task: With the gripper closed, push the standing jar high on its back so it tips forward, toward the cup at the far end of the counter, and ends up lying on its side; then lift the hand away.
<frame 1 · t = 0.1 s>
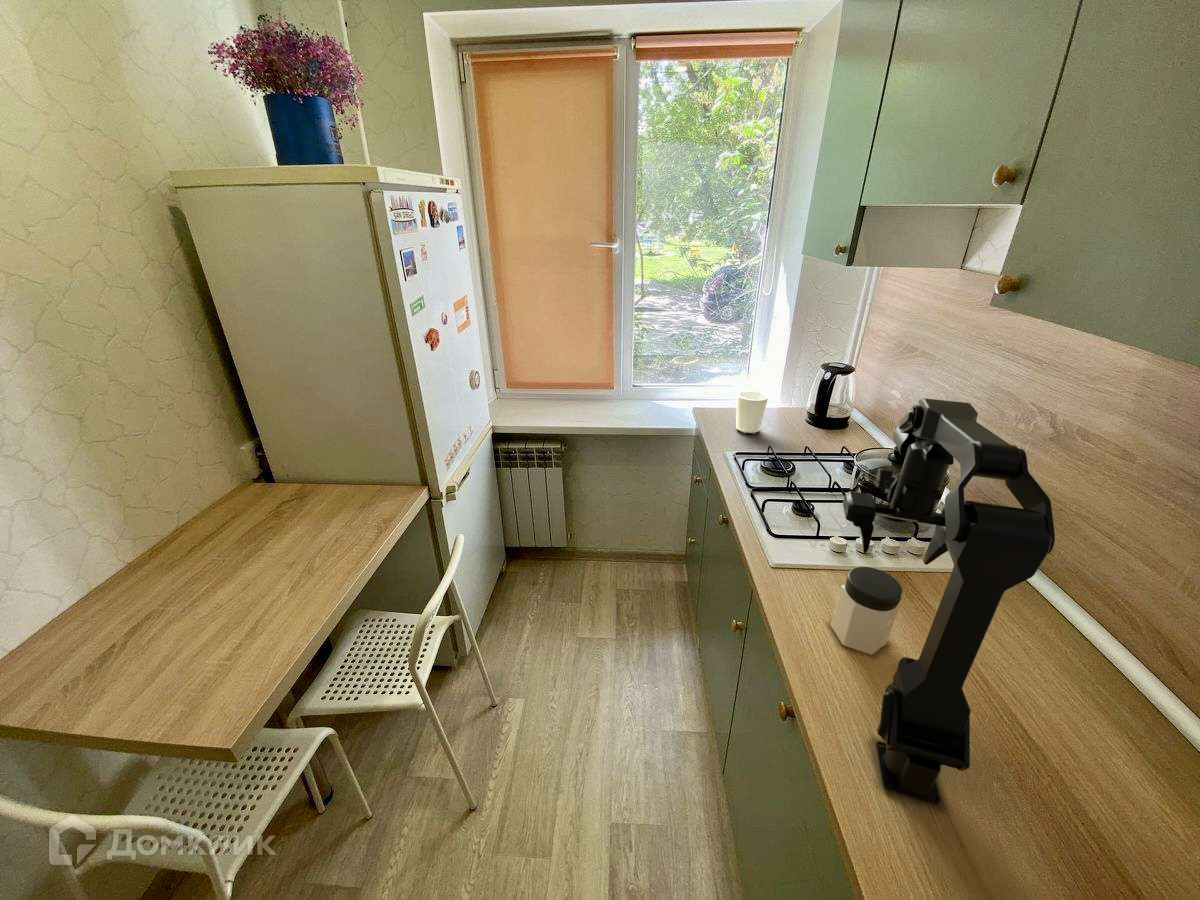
hand: (894, 557, 83), 15 cm above the countertop, tool pointing down, fingers open, 9 cm apart
jar: (857, 635, 87), on the countertop
cup: (747, 431, 167), on the countertop
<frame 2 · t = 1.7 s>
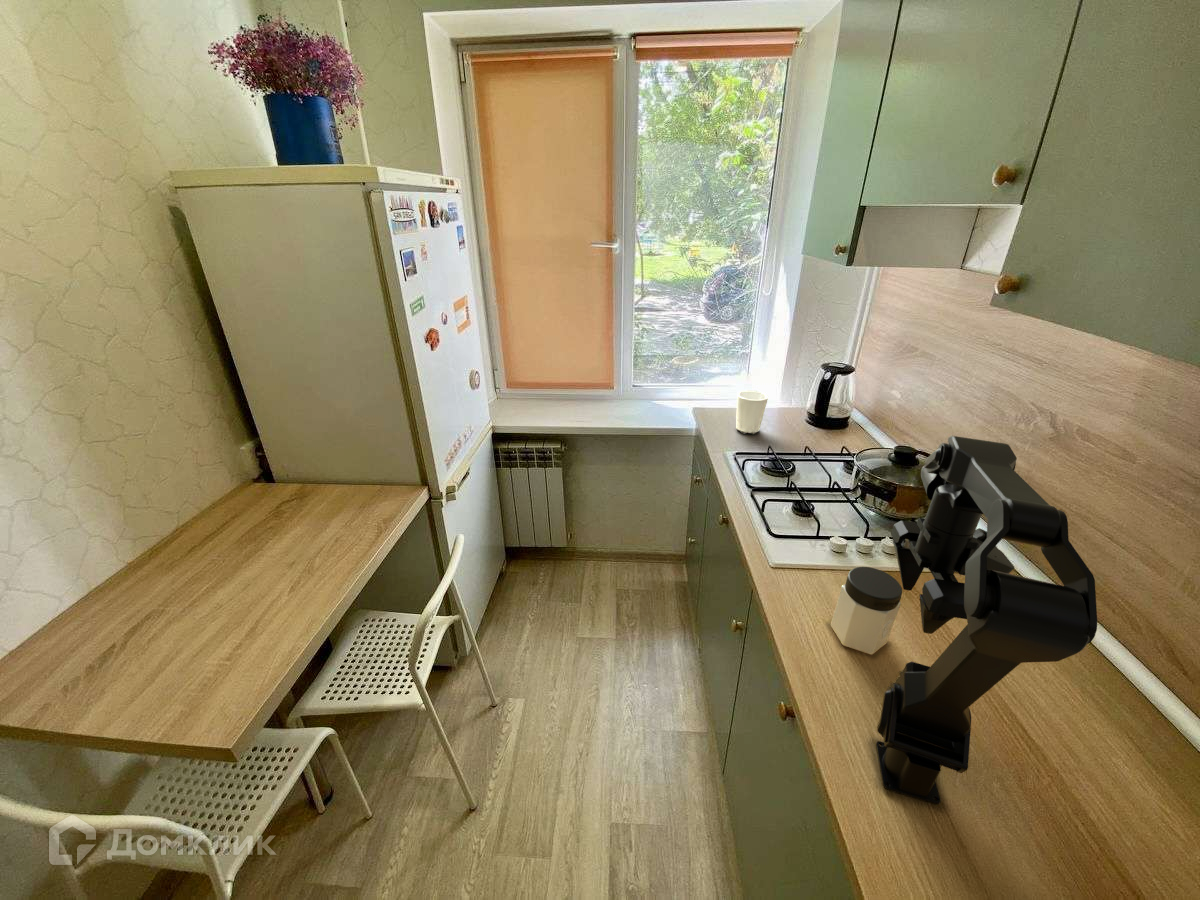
hand: (916, 609, 74), 13 cm above the countertop, tool pointing down, fingers open, 9 cm apart
nothing on the countertop moved.
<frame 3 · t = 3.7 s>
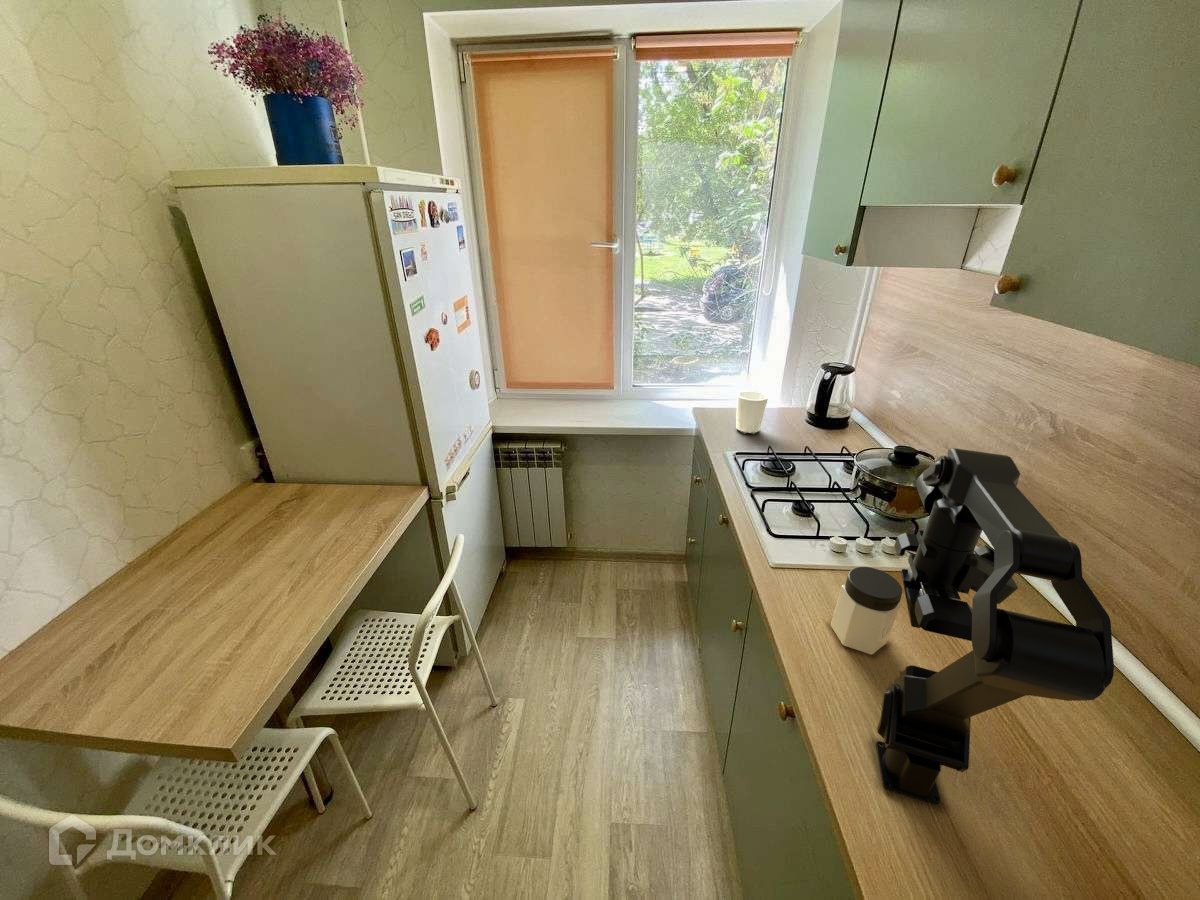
hand: (914, 625, 72), 13 cm above the countertop, tool pointing down, fingers closed
nothing on the countertop moved.
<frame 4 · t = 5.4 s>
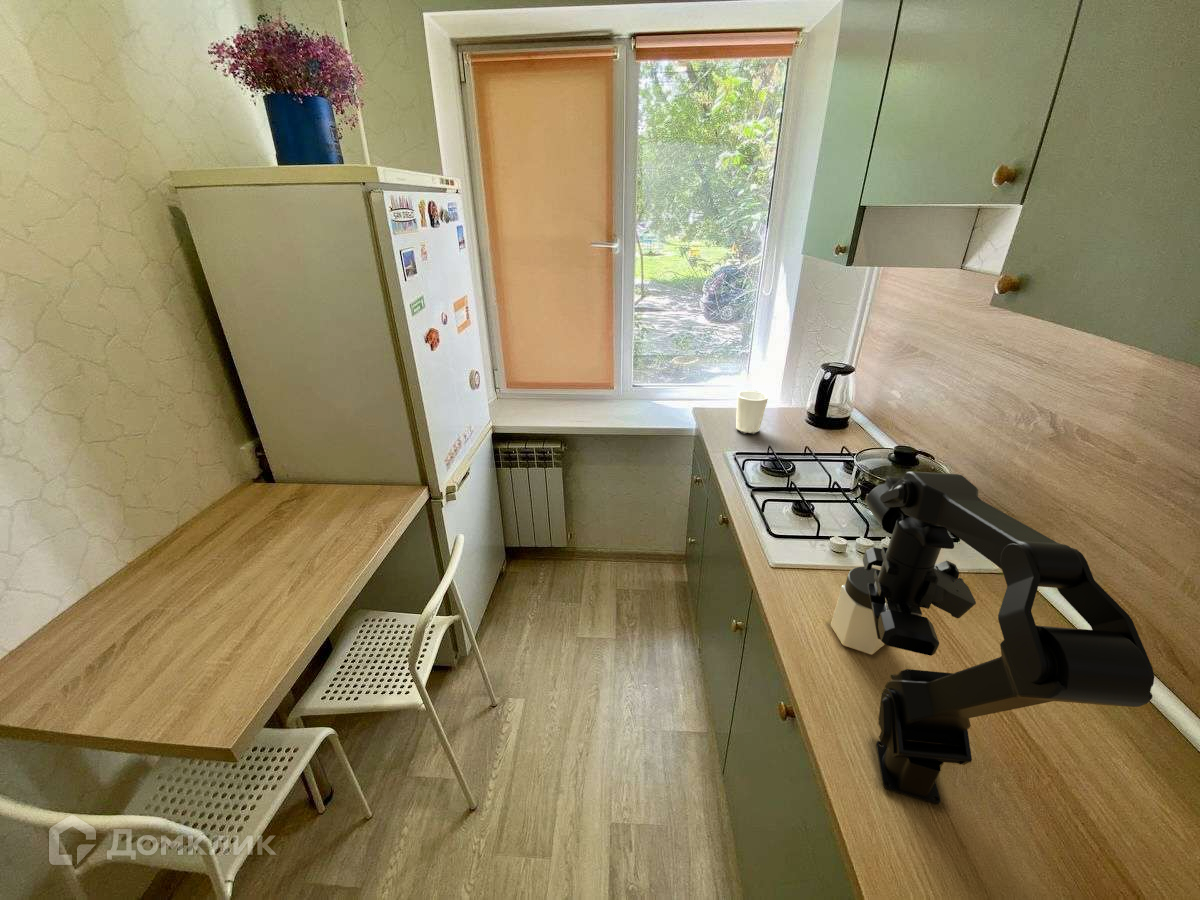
hand: (881, 638, 74), 9 cm above the countertop, tool pointing down, fingers closed
nothing on the countertop moved.
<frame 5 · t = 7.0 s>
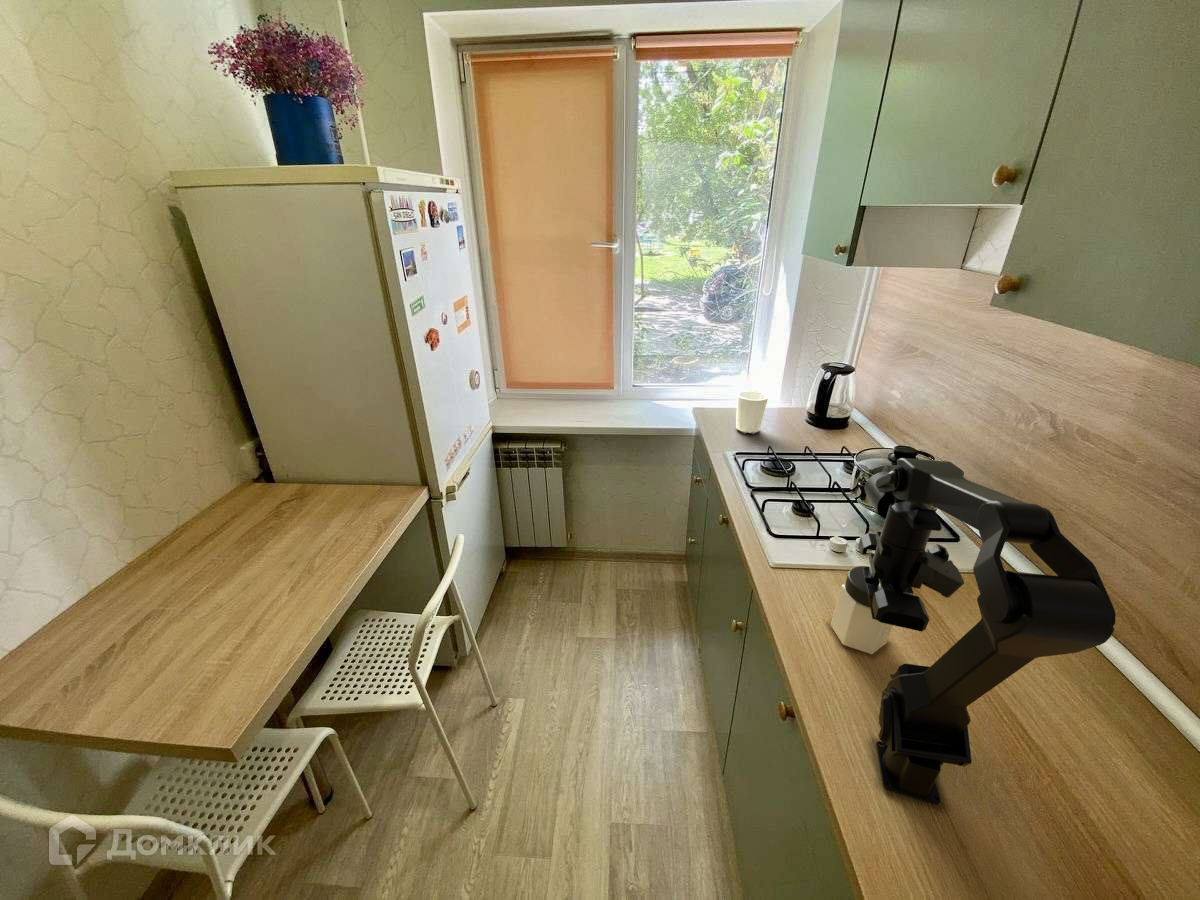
hand: (875, 618, 78), 9 cm above the countertop, tool pointing down, fingers closed
jar: (857, 635, 87), on the countertop, touching gripper
everything else where it was.
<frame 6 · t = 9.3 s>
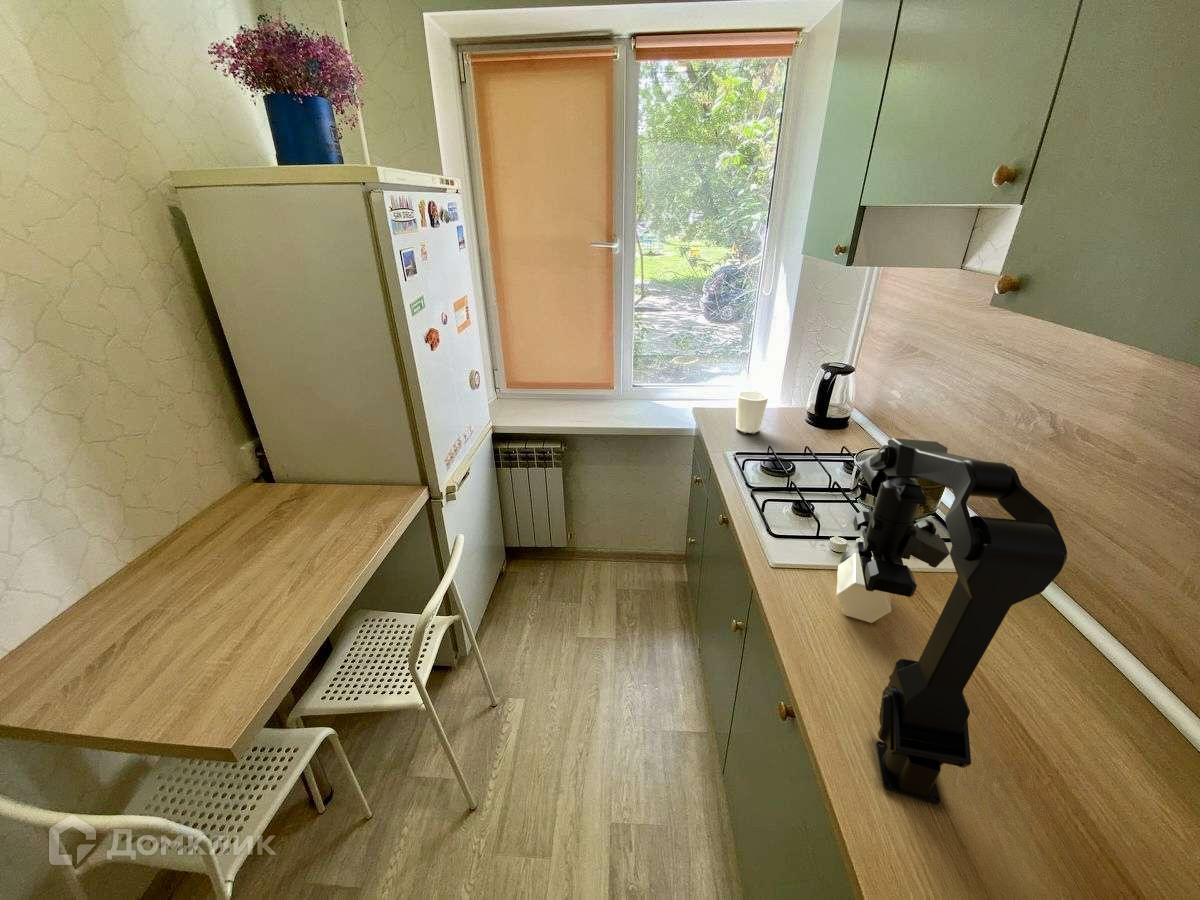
hand: (869, 589, 84), 9 cm above the countertop, tool pointing down, fingers closed
jar: (863, 604, 88), point 4 cm above the countertop
everything else where it was.
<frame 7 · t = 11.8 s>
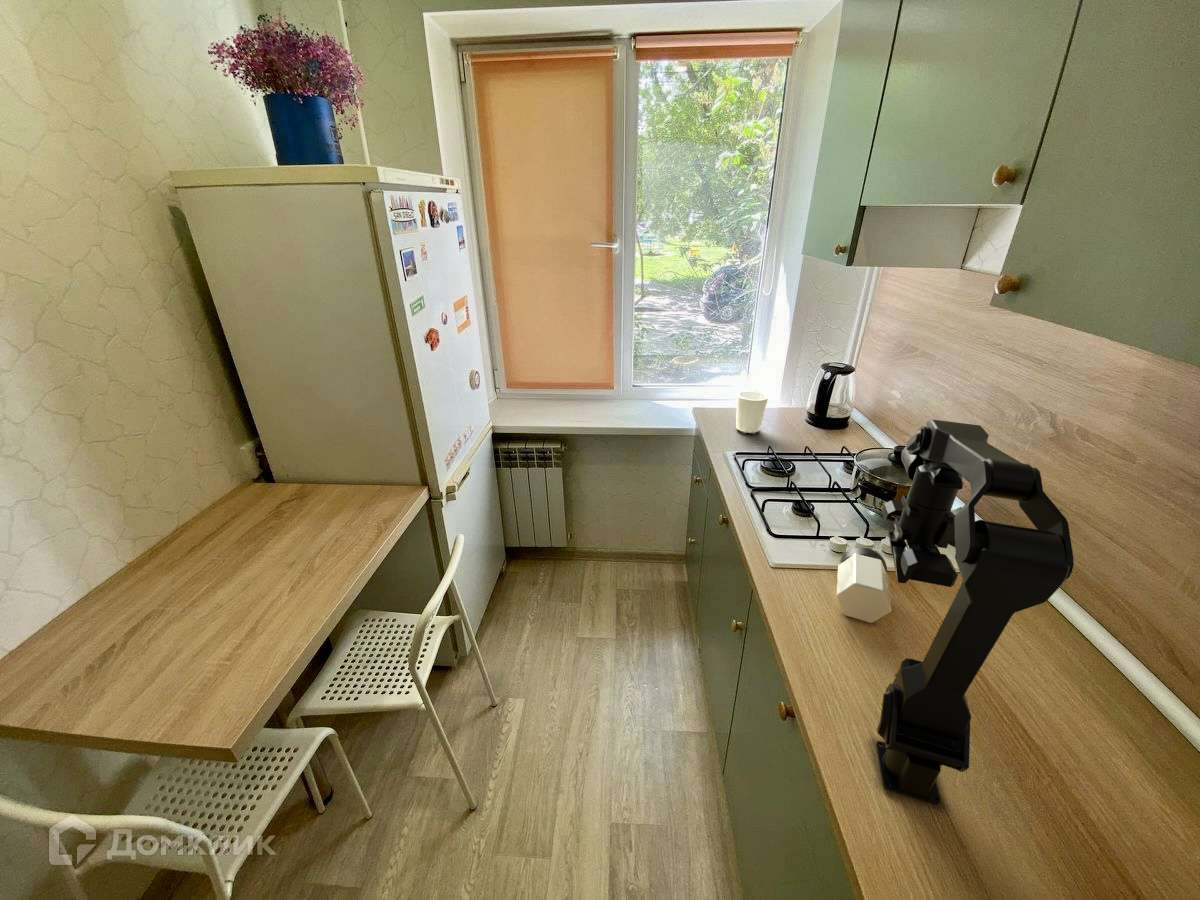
hand: (900, 581, 80), 13 cm above the countertop, tool pointing down, fingers closed
nothing on the countertop moved.
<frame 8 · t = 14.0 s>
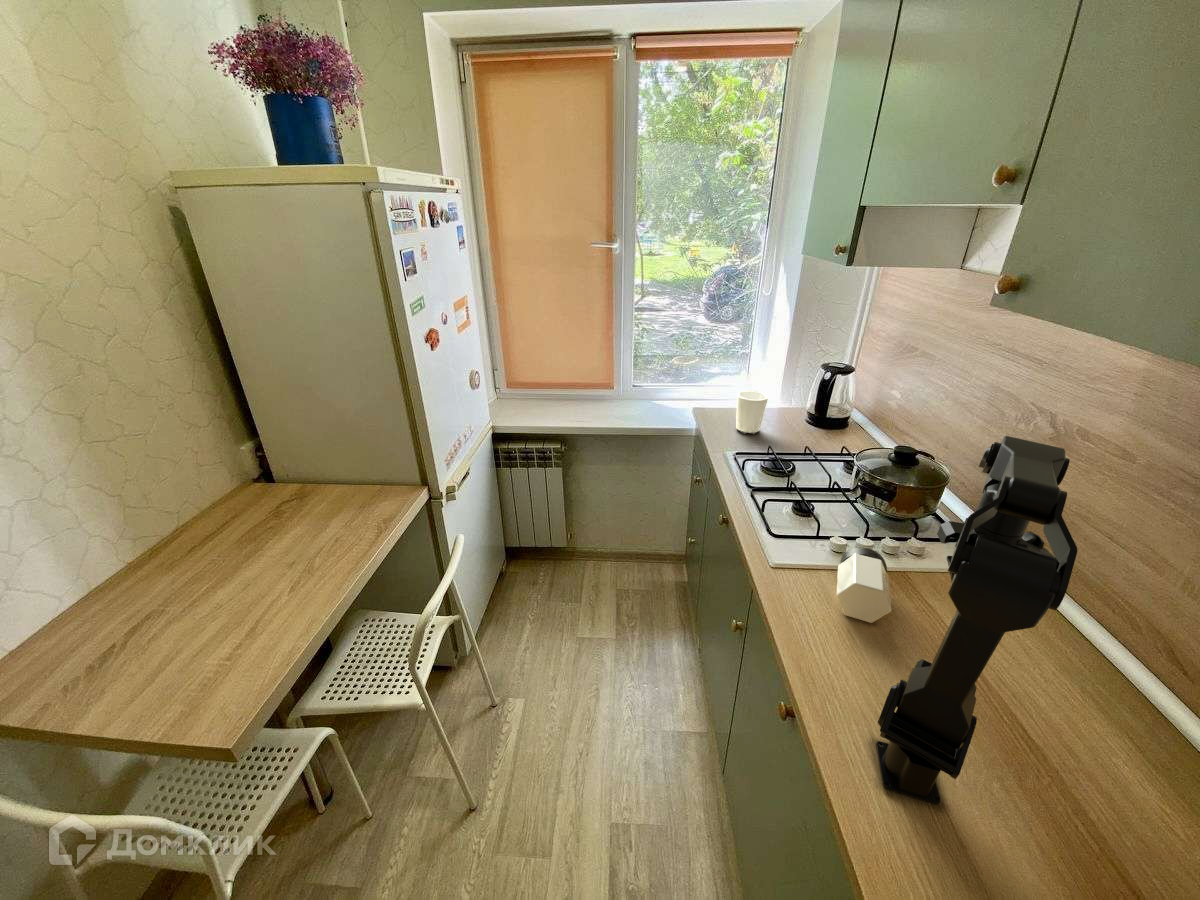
hand: (960, 609, 74), 13 cm above the countertop, tool pointing down, fingers closed
nothing on the countertop moved.
at the end: jar tilted 89°; jar 85.9 cm from the cup (horizontally); the gripper is holding nothing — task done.
